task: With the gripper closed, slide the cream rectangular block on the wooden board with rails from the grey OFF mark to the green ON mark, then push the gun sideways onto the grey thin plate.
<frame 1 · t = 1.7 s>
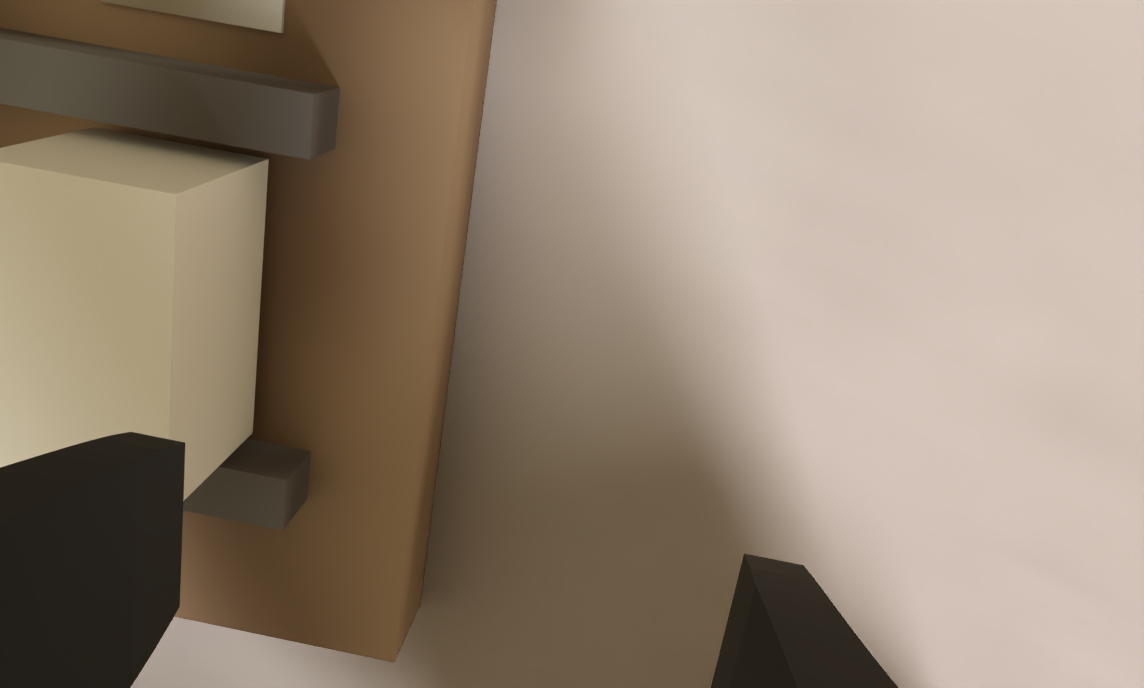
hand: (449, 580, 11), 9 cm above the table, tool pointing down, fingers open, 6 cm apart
wooden board with rails: (13, 213, 20), on the table
cream rectangular block: (128, 313, 16), point 4 cm above the table, slide at 0.0 cm
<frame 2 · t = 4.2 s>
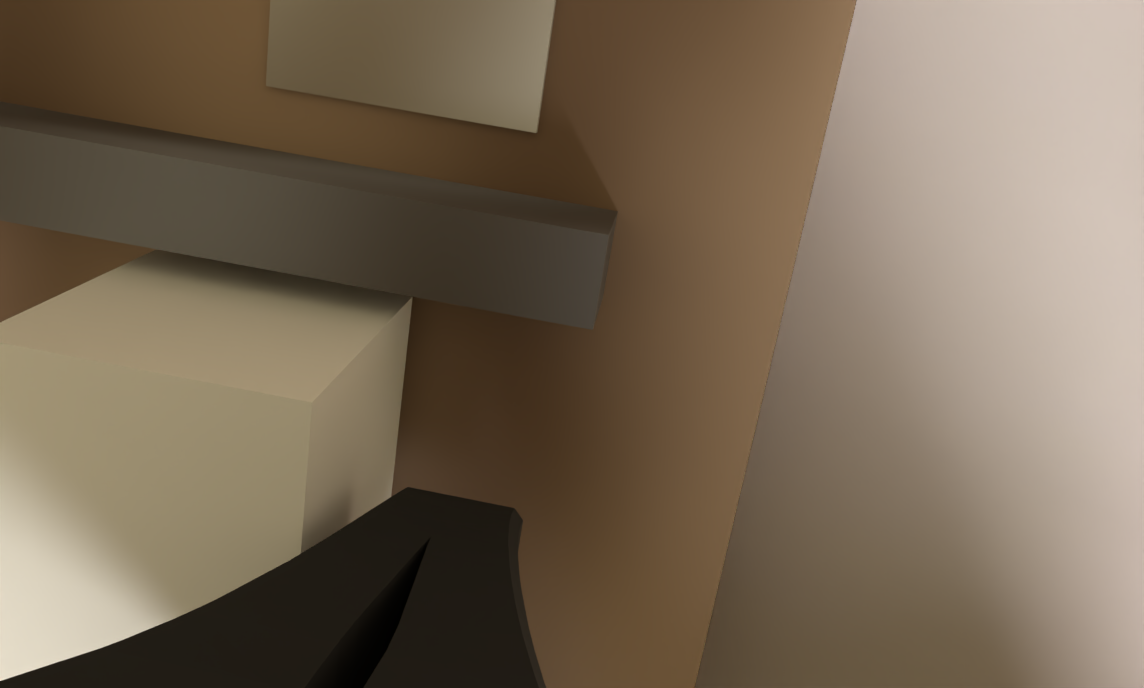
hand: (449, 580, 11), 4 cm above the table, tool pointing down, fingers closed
wooden board with rails: (105, 355, 15), on the table
cream rectangular block: (212, 534, 11), point 4 cm above the table, slide at 1.1 cm, touching gripper
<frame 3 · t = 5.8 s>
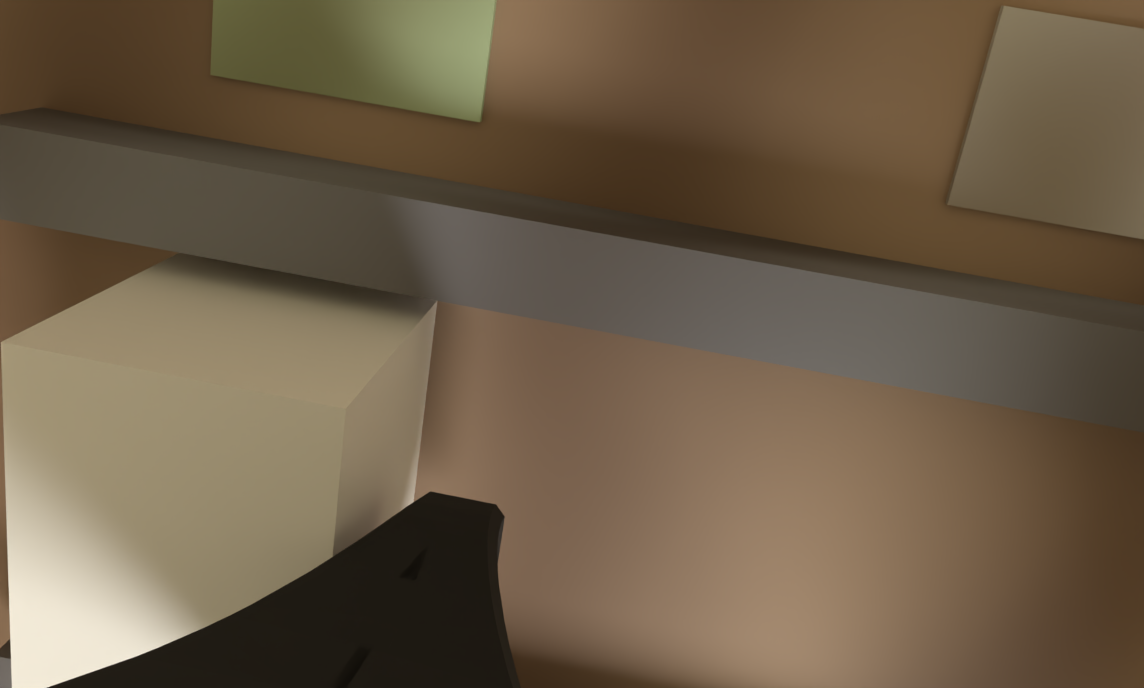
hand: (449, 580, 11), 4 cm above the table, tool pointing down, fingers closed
wooden board with rails: (608, 451, 14), on the table
cream rectangular block: (237, 539, 11), point 4 cm above the table, slide at 8.2 cm, touching gripper
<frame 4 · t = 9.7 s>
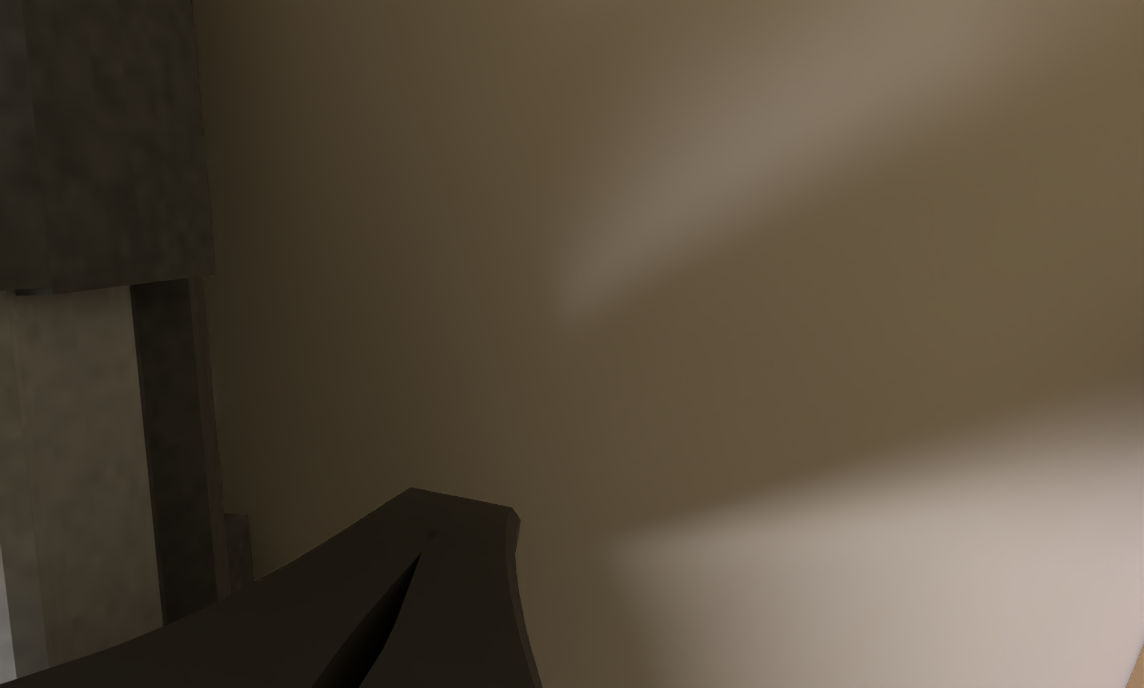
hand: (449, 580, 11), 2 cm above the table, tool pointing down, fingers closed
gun: (206, 475, 13), on the table, touching gripper
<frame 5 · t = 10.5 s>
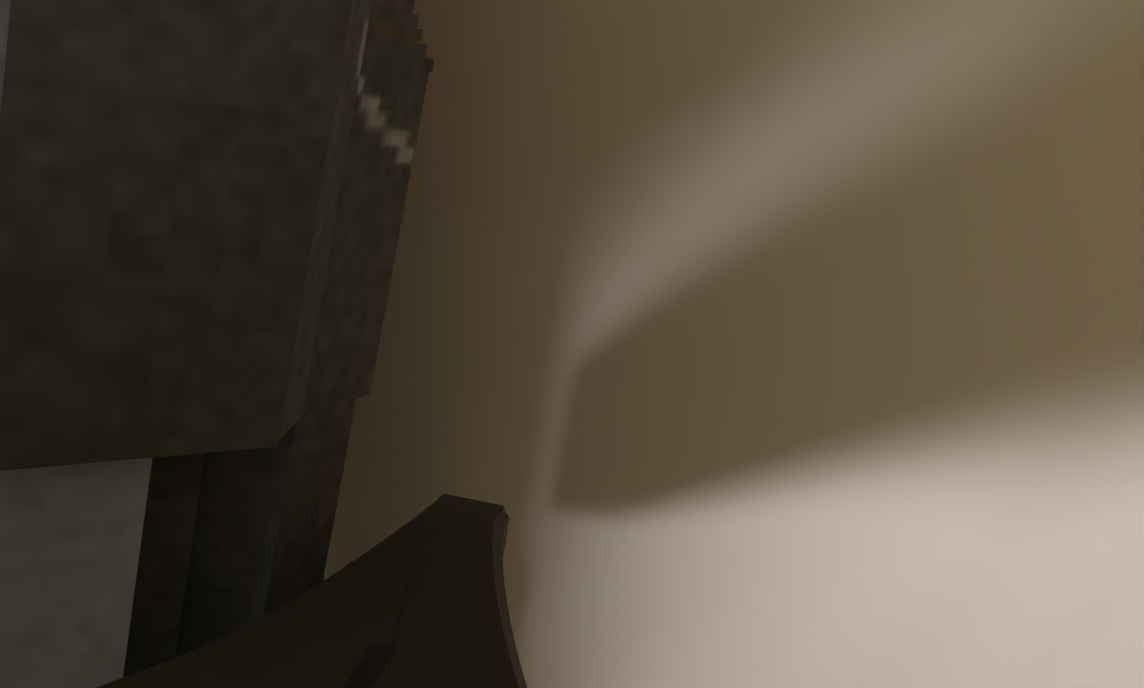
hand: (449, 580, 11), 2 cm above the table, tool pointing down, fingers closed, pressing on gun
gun: (393, 563, 12), point 1 cm above the table, touching gripper, grey thin plate
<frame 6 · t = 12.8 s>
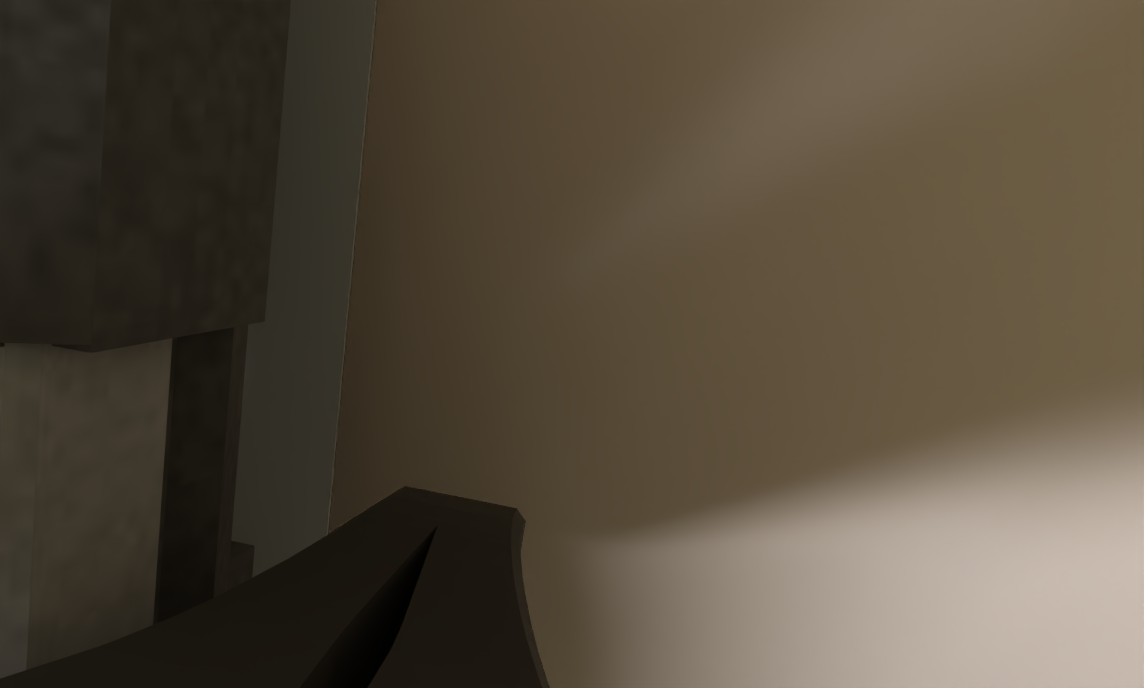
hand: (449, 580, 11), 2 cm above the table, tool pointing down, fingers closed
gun: (219, 484, 13), on the table, touching gripper, grey thin plate
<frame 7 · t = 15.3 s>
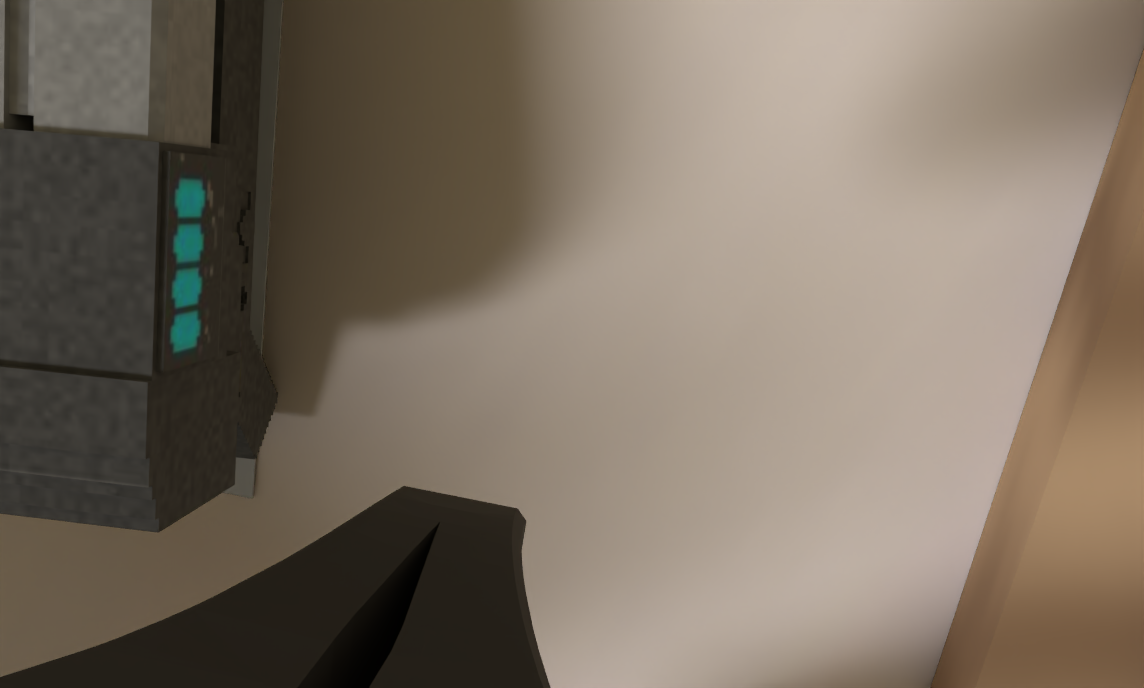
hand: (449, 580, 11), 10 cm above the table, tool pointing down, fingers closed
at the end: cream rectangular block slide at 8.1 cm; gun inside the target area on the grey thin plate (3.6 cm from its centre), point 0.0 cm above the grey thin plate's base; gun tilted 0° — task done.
